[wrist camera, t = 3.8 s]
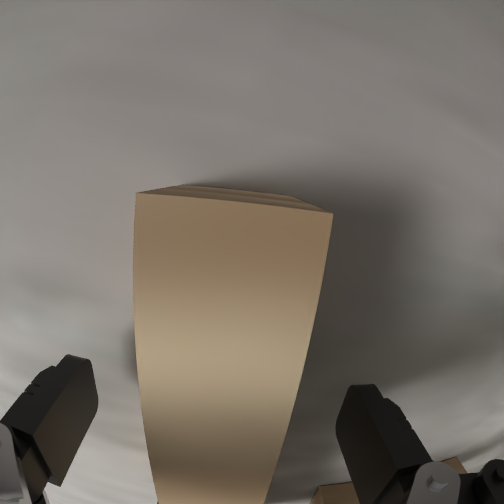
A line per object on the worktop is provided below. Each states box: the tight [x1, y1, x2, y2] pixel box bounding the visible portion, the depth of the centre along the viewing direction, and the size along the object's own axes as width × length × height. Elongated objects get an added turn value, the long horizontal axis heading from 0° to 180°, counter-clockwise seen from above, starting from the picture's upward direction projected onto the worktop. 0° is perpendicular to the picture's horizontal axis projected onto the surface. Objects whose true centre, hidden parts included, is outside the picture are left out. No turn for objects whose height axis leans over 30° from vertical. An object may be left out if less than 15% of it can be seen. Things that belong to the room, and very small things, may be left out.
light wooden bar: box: [133, 185, 333, 504], centre depth 7 cm, size 15×5×6 cm, turn 173°
